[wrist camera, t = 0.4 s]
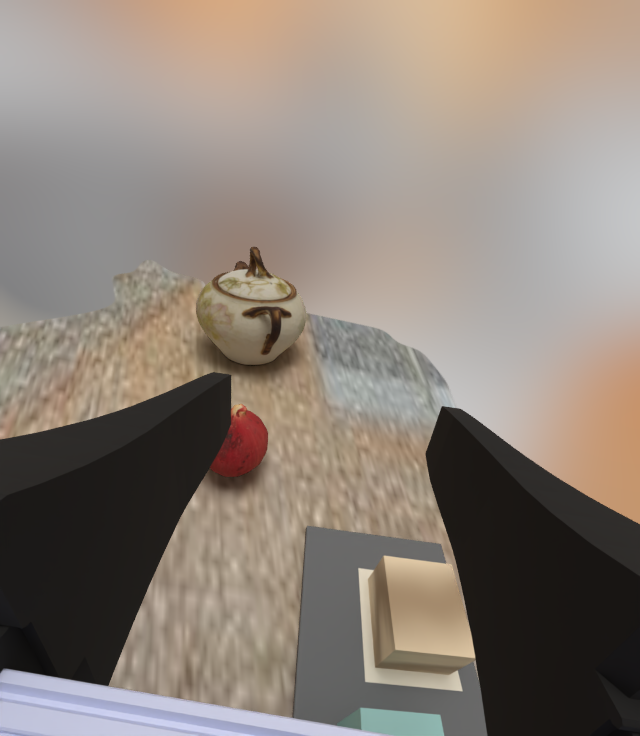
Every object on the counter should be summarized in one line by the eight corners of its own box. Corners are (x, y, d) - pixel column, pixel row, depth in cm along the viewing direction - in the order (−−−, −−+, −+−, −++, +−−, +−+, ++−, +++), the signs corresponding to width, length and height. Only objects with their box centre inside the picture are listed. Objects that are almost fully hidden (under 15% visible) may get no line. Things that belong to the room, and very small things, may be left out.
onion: (246, 504, 27) (253, 444, 23) (189, 480, 28) (184, 418, 24) (273, 455, 32) (282, 398, 28) (223, 436, 33) (224, 377, 28)
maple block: (448, 674, 20) (478, 658, 18) (374, 667, 20) (395, 649, 18) (429, 586, 24) (451, 564, 22) (367, 579, 24) (383, 555, 22)
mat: (558, 998, 13) (566, 1003, 13) (273, 994, 12) (274, 999, 12) (438, 546, 28) (441, 543, 27) (306, 528, 27) (307, 525, 26)
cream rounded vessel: (190, 319, 51) (185, 221, 42) (277, 317, 57) (288, 232, 49) (208, 398, 37) (206, 277, 29) (320, 384, 44) (345, 281, 35)
